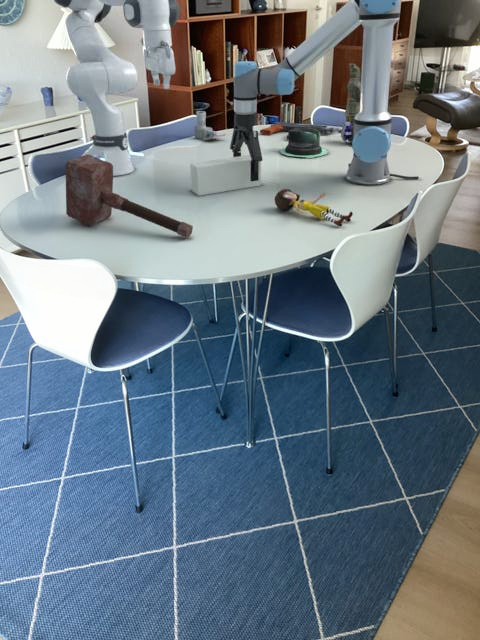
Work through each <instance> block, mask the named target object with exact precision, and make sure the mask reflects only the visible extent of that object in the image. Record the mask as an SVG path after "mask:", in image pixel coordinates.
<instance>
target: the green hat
mask: <svg viewBox="0 0 480 640" xmlns="http://www.w3.org/2000/svg"><path fill="white" fill-rule="evenodd" d="M288 134H289V139H287V140H288V141H287V142H288V143H287V145H286V146H285V147H283V148H281V149H280V150H279V153H280V154H282V155H285V156H289V157H296V158H297V157H298V158H307V159H309V158H310V159H311V158H313V159H314V158H317V157H323V156H326V155H327V154H328V150H326V149H325V148H322V146H321V144H320V142H321V132H319V131H318V130H316V129H311V128H298V129H294V130H291V131H288Z"/></svg>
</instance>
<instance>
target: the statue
mask: <svg viewBox="0 0 480 640" xmlns="http://www.w3.org/2000/svg"><path fill="white" fill-rule="evenodd" d="M348 70H349V73H350V75H349V76H350V78H349V81H348V82H347V85H346V90H347V98H346V99H347V100H346V101H347V102H346V106H345V112H344V115H345V123H346V122H350V124H352V127H354V118H355V116H356V115H357V114H358V113H359V111H360V94H361V67H359V66H358V65H357V64H356V63H351V62H350V63H348Z"/></svg>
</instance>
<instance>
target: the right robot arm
mask: <svg viewBox="0 0 480 640" xmlns="http://www.w3.org/2000/svg"><path fill="white" fill-rule="evenodd" d="M401 3H402V0H349V1H347V2H346V3H345V4H344V5H342V7H340V9H338V10H337V11H336V12H334V14H333V15H332V16H331V17H329V18H328V20H326V21H325V22H324V23H323V24H322V25H321V26H319V28H317V29H316V30H314V31H313V33H312V34H311V35H309V36H308V37H307V38H305V40H304V41H303V42H302V43H300V44H299V45H298V46H297V47H296V48H295V49H293V50H292V51H291V53H289V54H288V55H287V56H286V57H285V58H284V59H282V61H280V62H279V63H278V64H277V65H276V66H274V68H259V67H258V63H257V62H256V61H250V60H245V61H244V60H241V61H237V62H235V63H234V65H233V77H232V78H233V111H234V114H233V116H234V120H233V122H234V123H233V129H232V130H233V131H232V136H231V140H230V145H229V149H230V150H231V151H232V157H238V156H242V147H243V145H244V144H245V145H246V147H247V150H248V153H249V155H250V157H251V161H250V163H251V182H252V181H259V162H260V161H261V162H263V154H262V150H261V144H260V139H259V131H258V130H254V127H255V126H256V125H257V123H258V122H257V121H258V117H257V116H258V114H257V111H258V110H257V108H258V107H257V104H258V95H278V96H286V95H291V94H293V92H294V89H295V81H296V80H297V79H299V78H300V77H301V76H302V75H303V74H304V73H305V72H306V71H308V70H309V69H310V68H311V67H312V66H313V65H314V64H316V63H317V62H318V61H320V60H321V59H322V58H323V57H324V56H325V55H327V53H329V52H330V51H331V50H332V49H333V48H335V47H336V46H337V45H338V44H339V43H340V42H341V41H343V40H344V39H345V38H346V37H347V36H349V35H350V34H351V33H352V32H354V31H355V30H356V29H357V28H358V27H359V26H361V25H362V27H363V33H362V34H363V36H362V55H361V73H360V82H361V94H360V111H359V113H358V114H357V115H356V116H355V118H354V138H353V142H351V144H352V145H351V147H352V151H353V155H352V159H351V162H350V163H347V167H348V168H347V172H346V181H348V182H349V183H352V184H357V185H363V186H377V185H383V184H386V183H389V182H390V179H391V177H392V178H393V177H394V178H399V179H405V180H419V178H420V177H419V175H418V176H417V175H416V176H405V175H401V174H395V173H391V172H390V168H389V162H388V152H389V151H390V148H391V146H392V142H391V135H392V134H391V133H392V121H393V120H392V119H393V116H392V115H391V113H390V112H389V111H388V109H389V96H390V95H389V93H390V80H391V67H392V66H391V65H392V53H393V39H394V26H395V24H396V23H397V22H398V21H399V20H400V17H401V7H402V6H401Z"/></svg>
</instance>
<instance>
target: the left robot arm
mask: <svg viewBox="0 0 480 640" xmlns="http://www.w3.org/2000/svg"><path fill="white" fill-rule="evenodd" d="M53 1H54V3H55V4H57V5H58V6H59V7H62V8H64V9H68V10H70V11H71V12H70V13H69V14H68V15H67V17H66V18H65V23H64V25H65V30H66V35H67V38H68V41H69V44H70V45H71V48H72V51H73V52H74V54H75V57H76V59H77V61H78V62H79V63H78V64H77V63H76V64H74V65H70V67H68V70H67V72H66V78H65V79H66V84H67V87H68V89H69V90H70V92H71V93H72V94H74V96H76V97H78V98H79V99H80V100H82V101H83V103H85V105H86V106H87V108H88V109H89V111H90V114H91V117H92V122H93V127H94V133H95V134H93V135H92V136H90V137H89V141H92V145H91V146H90V147H88V148H87V149H86V150H85V151H84V152H83V153H81V156H80V157H82V156H84V155H87V154H89V155H91V156H94V157H96V158H99V159H101V160H104V161H107V162H109V163H111V164H112V165H113V177H116V176H124V175H128V174H130V173H133V172H134V171H135V168H134V165H133V164H132V160H131V156H130V155H134V156H140V157H144V153H142V152H134V151H129V142H128V135H127V132H126V126H125V119H124V118H125V117H124V112H123V111H122V110H121V108H120V107H118V106H116V105H114V104H112V103H109V102H108V101H107V98H106V95H107V96H108V95H116V94H124V93H128V92H131V91H133V90H135V89H136V87H137V85H138V83H139V73H138V70H137V68H136V66H135V65H134V64H133V63H132V62H131V61H129V60H126V59H123V58H121V57H119V56H118V55H116V54H115V53H113V52H112V51H111V50H110V49H109V48H108V47H107V46H106V44H105V43H104V41H103V39H102V37H101V35H100V33H99V31H98V29H97V27H96V25H95V24H99V23H100V22H102V20H103V19H105V18H106V17H107V16H108V15H109V13H110V12H111V10H112V7H121V6H122V7H123V15H124V20H125V21H126V23H127V24H128V25H129V26H130V27H132V28H134V29H142V36H141V38H140V45H141V46H142V53H143V59H144V65H145V68H146V70H148V71H150V73H151V77H152V80H153V85H154V86H156V87H157V86H161V80H160V77H159V74H162V78H163V82H162V89H164V90H170V83H171V76H172V75H175V74H176V61H175V54H174V51H173V48H172V46H173V41H172V40H173V39H172V28H173V27H174V26H175V25H176V24H177V22H178V20H179V17H180V14H181V13H180V11H181V10H180V6H179V2H178V1H177V0H53Z"/></svg>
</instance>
